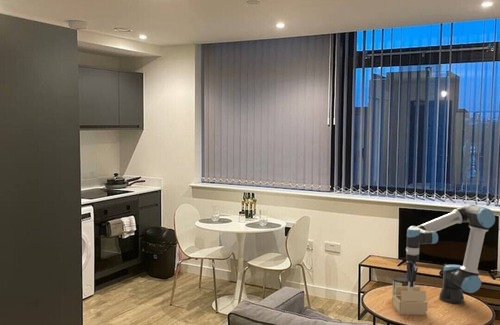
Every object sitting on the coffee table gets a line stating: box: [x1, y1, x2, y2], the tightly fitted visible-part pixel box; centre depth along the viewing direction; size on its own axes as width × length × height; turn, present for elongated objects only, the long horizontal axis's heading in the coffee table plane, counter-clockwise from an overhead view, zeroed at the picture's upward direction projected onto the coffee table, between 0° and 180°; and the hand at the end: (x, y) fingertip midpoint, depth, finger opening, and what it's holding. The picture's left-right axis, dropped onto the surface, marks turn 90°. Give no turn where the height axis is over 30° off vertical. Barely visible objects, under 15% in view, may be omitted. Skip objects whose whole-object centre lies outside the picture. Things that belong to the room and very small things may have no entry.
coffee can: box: [391, 276, 408, 301], centre depth 326 cm, size 10×10×14 cm
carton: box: [392, 295, 428, 316], centre depth 307 cm, size 17×12×8 cm
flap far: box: [395, 285, 421, 294], centre depth 311 cm, size 15×6×1 cm
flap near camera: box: [401, 290, 427, 301], centre depth 301 cm, size 15×6×1 cm
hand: (410, 291), depth 306 cm, fingers closed
